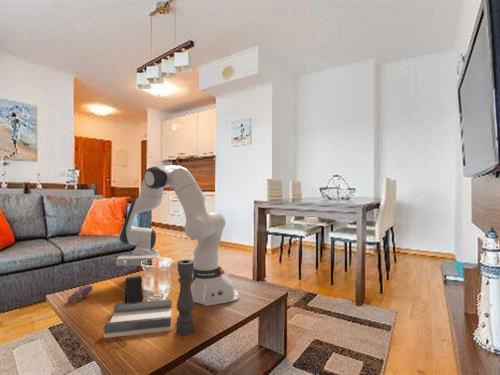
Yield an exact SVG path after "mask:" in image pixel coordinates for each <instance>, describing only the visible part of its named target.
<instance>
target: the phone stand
mask: <svg viewBox="0 0 500 375" xmlns="http://www.w3.org/2000/svg"><path fill="white" fill-rule="evenodd" d="M142 283H143V282H142V276H141V275H137V276H131V277H126V278H125V288H124V297H123V298H124V299H123V303H133V302H144V300H143V299H144V297H143V284H142Z"/></svg>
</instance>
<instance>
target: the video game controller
mask: <svg viewBox="0 0 500 375" xmlns="http://www.w3.org/2000/svg"><path fill="white" fill-rule="evenodd" d="M93 288H94V286H92V285H89V284H87V285H82V286H80V287H79V288H78V289H77V290H76V291H74V292H73V293H72V295H70V296H68V298H67V302H68V303H69V304H70V303H73V302H74V301H78V302H80V301H81V300H82V299H85V298H86V297H88V296H89V294H90V293H91V292H92V291H93Z"/></svg>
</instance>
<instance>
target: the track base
mask: <svg viewBox="0 0 500 375" xmlns="http://www.w3.org/2000/svg"><path fill="white" fill-rule="evenodd" d="M172 309H173V308H164V309H154V310H143V311H132V312H121V313H114V312H113V314H112V317H111V319H110V320H109V322H119V321H129V320H139V319H149V318H159V317H169V316H171V317H172ZM171 328H172V325H171V326H170V327H161V328H152V329H143V330H133V331H124V332H115V333H105V334H104V333H103V339H107V338H108V339H109V338H115V337H116V338H117V337H124V336H135V335H143V334H152V333H160V332H170V331H172V329H171Z"/></svg>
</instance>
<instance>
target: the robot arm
mask: <svg viewBox="0 0 500 375" xmlns="http://www.w3.org/2000/svg"><path fill="white" fill-rule="evenodd" d="M166 188H167V189H168V188H172V189H173V191H174V192H175V195H176V197H177V199H178V201H179V202H180V204H181V207H182V209H183V211H184V215H185V225H184V233H185V234H186V236H187V238H189V239H191V240H195V241H197V244H196V246H195V247H194V250H193V260H194V271H193V274H192V278H193V281H192V285H191V293H192V297H193V301H194V304H195V303H196V304H201V305H202V306H205V307H206V306H207V307H209V306H215V305H219V304H226V303H232V302H236V301H238V300H239V298H240V296H239V292H238V290H236V289H235V286H234V284H233V281H231V279H230V278H228V277H227V276H226V275H224V273H225V270H224V269H223V267H221V266H220V265H219V249H220V243H221V238H222V234H223V230H224V229H225V227H226V219H225V217H224V216H223V215H222V213H219V212H215V211H211V212H207V208H206V204H205V201H206V196H205V195H204V192H203V191H202V190H201V187H200V186H199V184H198V182H197V181H196V178H195V177H194V176H193V174H192V173H191V172H190V171H189V169H187V168H185V167H183V166H181V165H178V164H174V165H173V164H172V165H171V164H170V165H169V164H168V165H167V164H165V165H164V164H163V165H158V166H151V167H148V168H147V169H146V170H145V171H144V173H143V179H142V183H141V187H140V193H139V196H138V197H137V198H135V199H133V201H132V202H131V204H130V206H129V209H128V212H127V215H126V217H125V221H124V223H123V227H122V228H121V230H120V231H119V232H120V233H119V236H118V239H119V241H120V242H121V243H122V245H133V246H136V247H135V248H134V250H133V252H132V253H131V254H122V255H119V256H118V257H117V258H116V259H115V262H116V263H115V265H116V267H119V266H120V267H121V266H123V267H129V266H138V267H140V266H141V261H143V260H146V259H153V258H160V259H161V255H160V253H159V250H157V249H154V248H155V244H156V240H157V233H156V231H155V230H154V228H150V227H149V228H148V227H141V226H140V227H139V226H134V225H133V223H134V220H135V218H136V215H137V214H139V213H143V212H149V211H152V210H155V209H156V208H158V207H159V206H160V205H161V203H162V199H163V195H164V189H166Z"/></svg>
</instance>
